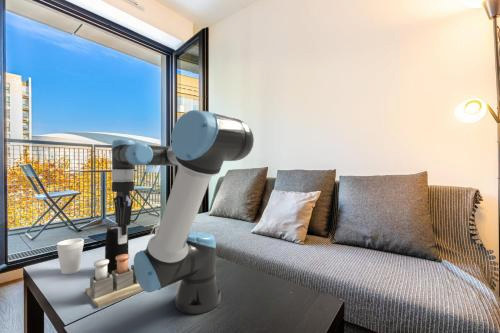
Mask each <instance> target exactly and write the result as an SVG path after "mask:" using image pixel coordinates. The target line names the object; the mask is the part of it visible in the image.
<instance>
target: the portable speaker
mask: <svg viewBox="0 0 500 333" xmlns="http://www.w3.org/2000/svg"><path fill="white" fill-rule="evenodd" d="M104 241H105V243H104V248H105V249H104V259H108V260H109V264H107V272H108V273H109V274H110V275H112V271H114V270H117V260H116V256H118V255H121V254H129V234H128V231H127V243H123V244H118V225H108V226H107V227H106V234H105V239H104Z"/></svg>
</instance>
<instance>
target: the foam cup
mask: <svg viewBox="0 0 500 333" xmlns="http://www.w3.org/2000/svg"><path fill="white" fill-rule="evenodd" d="M84 245H85V239H84V238H79V237H78V238H69V239H65V240H61V241H59V242H57V243H56V250H57V255H58V261H59V266H60V272H61V275H71V274H74V273H77V272H79V270H80V267H81V263H82V262H81V261H82V256H83V249H84Z"/></svg>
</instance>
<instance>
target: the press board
mask: <svg viewBox="0 0 500 333" xmlns="http://www.w3.org/2000/svg"><path fill="white" fill-rule="evenodd" d="M84 291H85V293H86V295H87V296H88V297H89V299H90V300H91V301H92V302H93V303H94V304H93V305H95V306H96V307H97V309H100V308H103V307H106V306H108V305H111V304H113V303H116V302H118V301H121V300H124V299H126V298H129V297H132V296H133V295H136V294H140V293H141V292H145V291H144V290H143V289H142V288H141V287H140V285H139V283H138V281H137V278H136V275H135V271H134V264H132V265H130V267H129V266H128V272H126V273H122V274H119V275H118V274H117V270H114V271H112V274H109V273H108V272H107V278H106V279H103V280H100V281H97V282H96V281H95V276H91V277H89V287H86V288H85V290H84Z"/></svg>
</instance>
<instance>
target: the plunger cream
mask: <svg viewBox="0 0 500 333" xmlns="http://www.w3.org/2000/svg"><path fill="white" fill-rule="evenodd" d="M107 264H109V260H108V259H105V258H103V259H102V258H101V259H98V260H95V261H94V262H93V266H94V267H95V271H94V272H95V273H94V274H95V281H96V282H97V281H100V280H103V279H106V278H107Z"/></svg>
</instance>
